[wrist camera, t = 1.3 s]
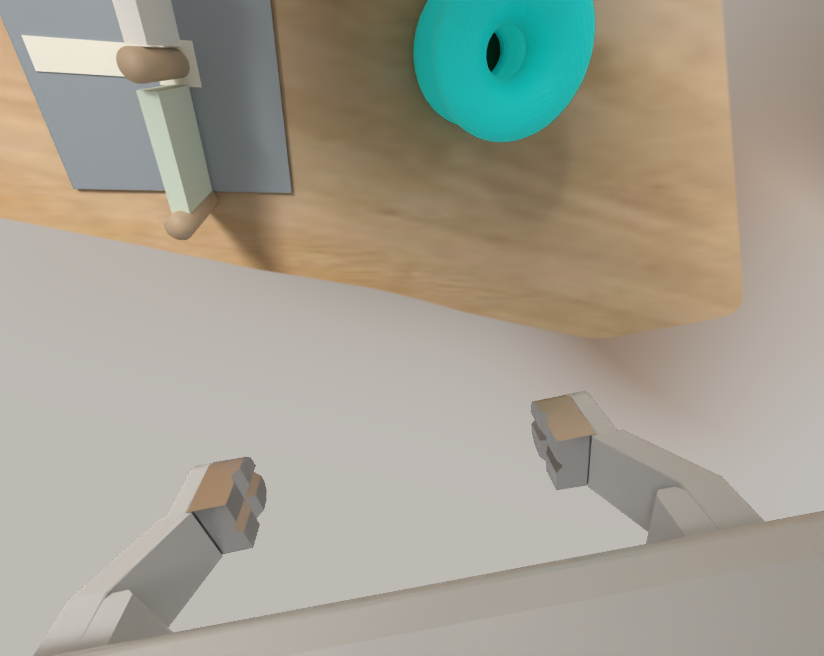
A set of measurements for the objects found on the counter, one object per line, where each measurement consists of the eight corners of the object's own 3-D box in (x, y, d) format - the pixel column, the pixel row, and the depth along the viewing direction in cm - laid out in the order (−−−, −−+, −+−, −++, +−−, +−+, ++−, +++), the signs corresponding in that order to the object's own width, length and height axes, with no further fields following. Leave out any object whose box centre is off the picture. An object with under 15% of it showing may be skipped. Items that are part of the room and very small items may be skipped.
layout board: (-77, -176, 21) (-83, -180, 20) (256, -128, 24) (255, -130, 23) (75, 187, 32) (72, 189, 31) (291, 192, 34) (291, 193, 34)
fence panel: (166, 84, 28) (122, 91, 23) (193, 85, 28) (156, 93, 23) (197, 208, 33) (168, 240, 28) (220, 209, 34) (195, 240, 28)
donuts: (408, -8, 20) (592, -115, 19) (388, 10, 28) (517, -64, 27) (470, 173, 26) (614, 100, 25) (439, 145, 34) (546, 89, 33)
